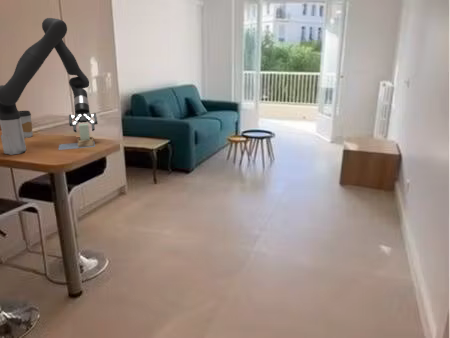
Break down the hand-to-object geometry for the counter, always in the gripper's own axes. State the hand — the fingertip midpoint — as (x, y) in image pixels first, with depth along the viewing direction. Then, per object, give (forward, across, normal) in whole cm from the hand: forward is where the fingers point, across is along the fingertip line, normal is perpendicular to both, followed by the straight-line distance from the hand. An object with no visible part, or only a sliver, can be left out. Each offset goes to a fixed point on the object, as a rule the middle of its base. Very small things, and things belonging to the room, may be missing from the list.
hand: (84, 131), depth 196 cm
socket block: (+5, 0, +6) cm, 8 cm away
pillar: (+4, 0, +4) cm, 6 cm away
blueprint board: (+6, -5, +6) cm, 10 cm away
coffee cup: (-20, -33, +32) cm, 51 cm away
